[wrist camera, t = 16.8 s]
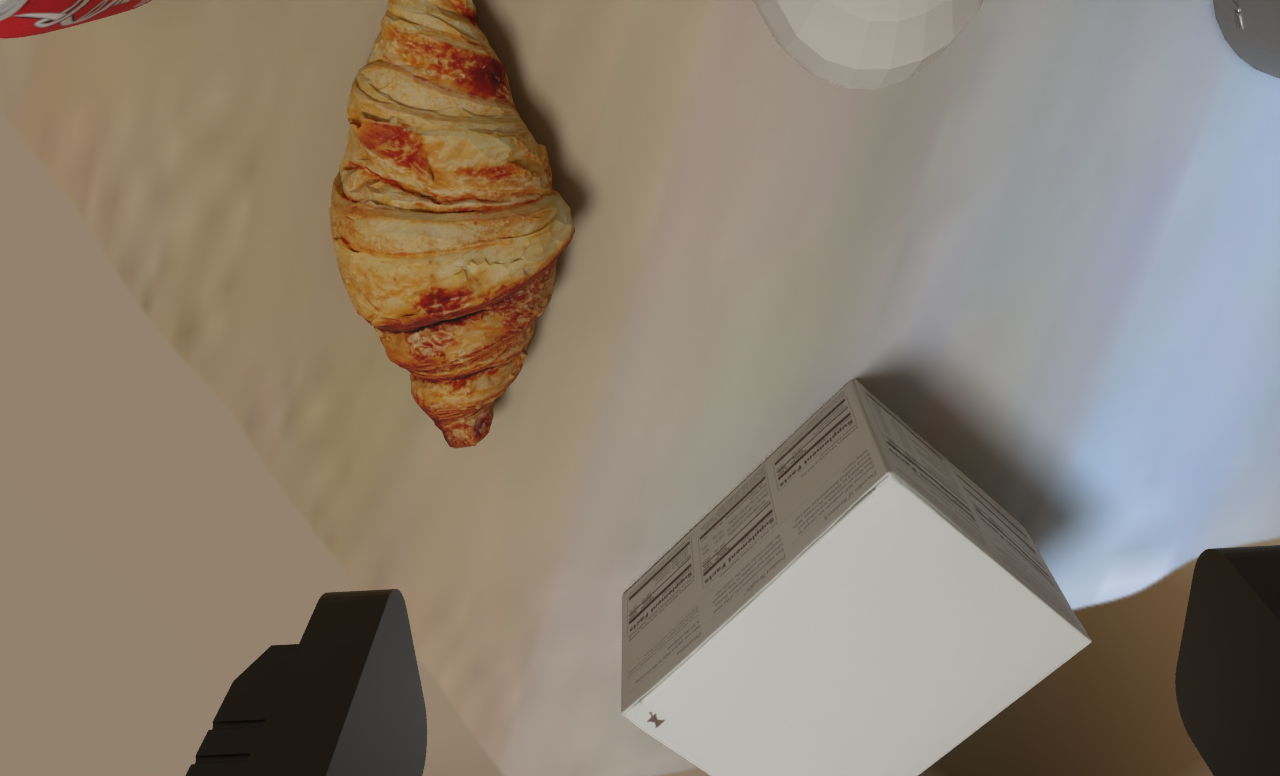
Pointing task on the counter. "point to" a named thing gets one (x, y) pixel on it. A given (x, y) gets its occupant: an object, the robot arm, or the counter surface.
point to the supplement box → (841, 610)
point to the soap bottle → (865, 36)
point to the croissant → (445, 213)
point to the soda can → (55, 14)
